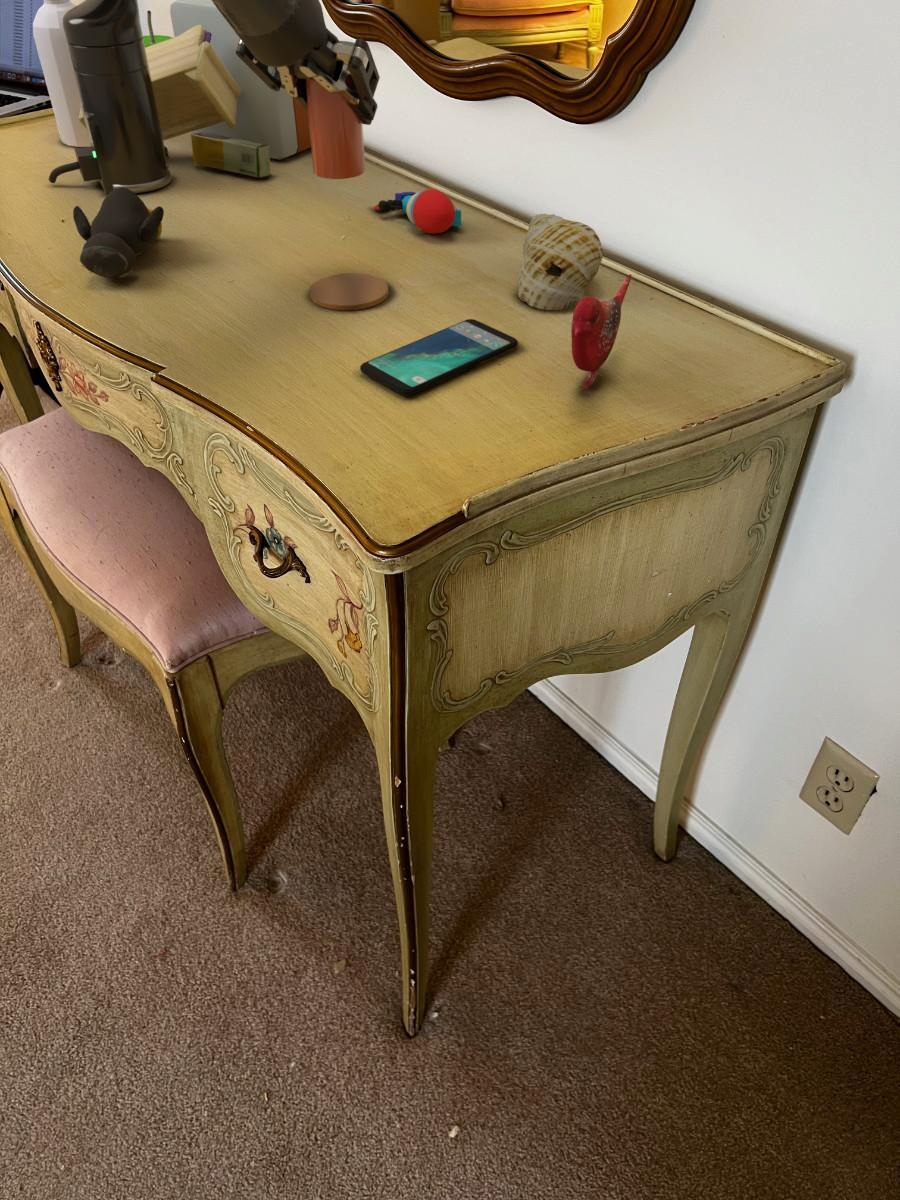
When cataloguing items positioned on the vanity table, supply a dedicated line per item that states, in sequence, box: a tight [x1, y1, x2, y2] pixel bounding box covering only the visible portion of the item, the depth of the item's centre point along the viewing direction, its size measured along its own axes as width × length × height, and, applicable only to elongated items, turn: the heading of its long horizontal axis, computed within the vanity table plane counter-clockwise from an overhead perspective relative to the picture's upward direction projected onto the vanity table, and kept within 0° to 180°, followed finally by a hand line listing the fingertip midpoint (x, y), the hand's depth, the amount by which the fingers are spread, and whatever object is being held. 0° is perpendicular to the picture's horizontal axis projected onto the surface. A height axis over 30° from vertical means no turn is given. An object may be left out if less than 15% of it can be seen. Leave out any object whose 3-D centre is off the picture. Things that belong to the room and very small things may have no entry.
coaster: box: [310, 272, 389, 311], centre depth 100 cm, size 8×8×1 cm
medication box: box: [190, 132, 272, 179], centre depth 129 cm, size 12×3×4 cm, turn 62°
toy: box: [72, 187, 165, 279], centre depth 104 cm, size 10×7×15 cm
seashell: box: [516, 213, 604, 311], centre depth 99 cm, size 10×10×10 cm
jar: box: [305, 78, 366, 180], centre depth 93 cm, size 5×5×11 cm
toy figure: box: [373, 188, 462, 235], centre depth 114 cm, size 8×5×15 cm
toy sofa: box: [79, 25, 241, 141], centre depth 129 cm, size 21×9×10 cm
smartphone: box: [359, 318, 519, 397], centre depth 89 cm, size 7×1×15 cm
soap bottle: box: [32, 0, 91, 148], centre depth 134 cm, size 9×9×24 cm
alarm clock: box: [169, 0, 311, 160], centre depth 133 cm, size 18×9×21 cm, turn 58°
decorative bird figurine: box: [570, 274, 632, 394], centre depth 84 cm, size 3×18×10 cm, turn 156°
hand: (344, 112), depth 95 cm, fingers closed on jar, 5 cm apart
